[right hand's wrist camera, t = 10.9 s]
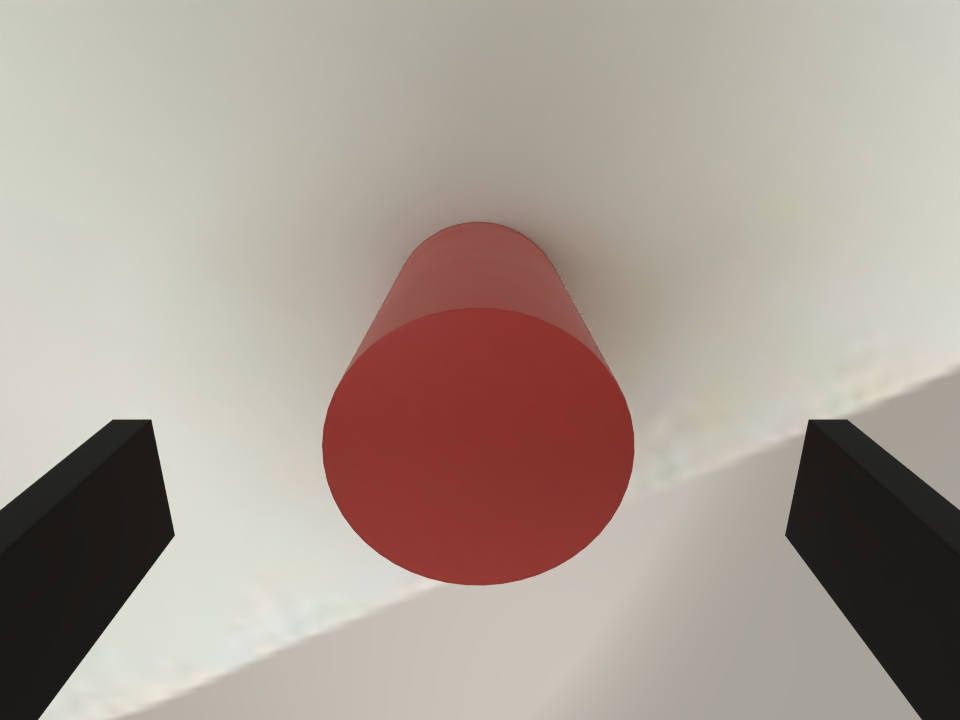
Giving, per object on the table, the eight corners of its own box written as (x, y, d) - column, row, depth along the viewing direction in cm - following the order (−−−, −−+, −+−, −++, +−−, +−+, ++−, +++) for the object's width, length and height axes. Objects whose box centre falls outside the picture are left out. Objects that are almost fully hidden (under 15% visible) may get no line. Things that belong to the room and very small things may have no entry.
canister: (473, 184, 24) (468, 237, 12) (597, 302, 26) (699, 451, 14) (359, 311, 26) (258, 467, 14) (482, 415, 27) (486, 633, 15)
